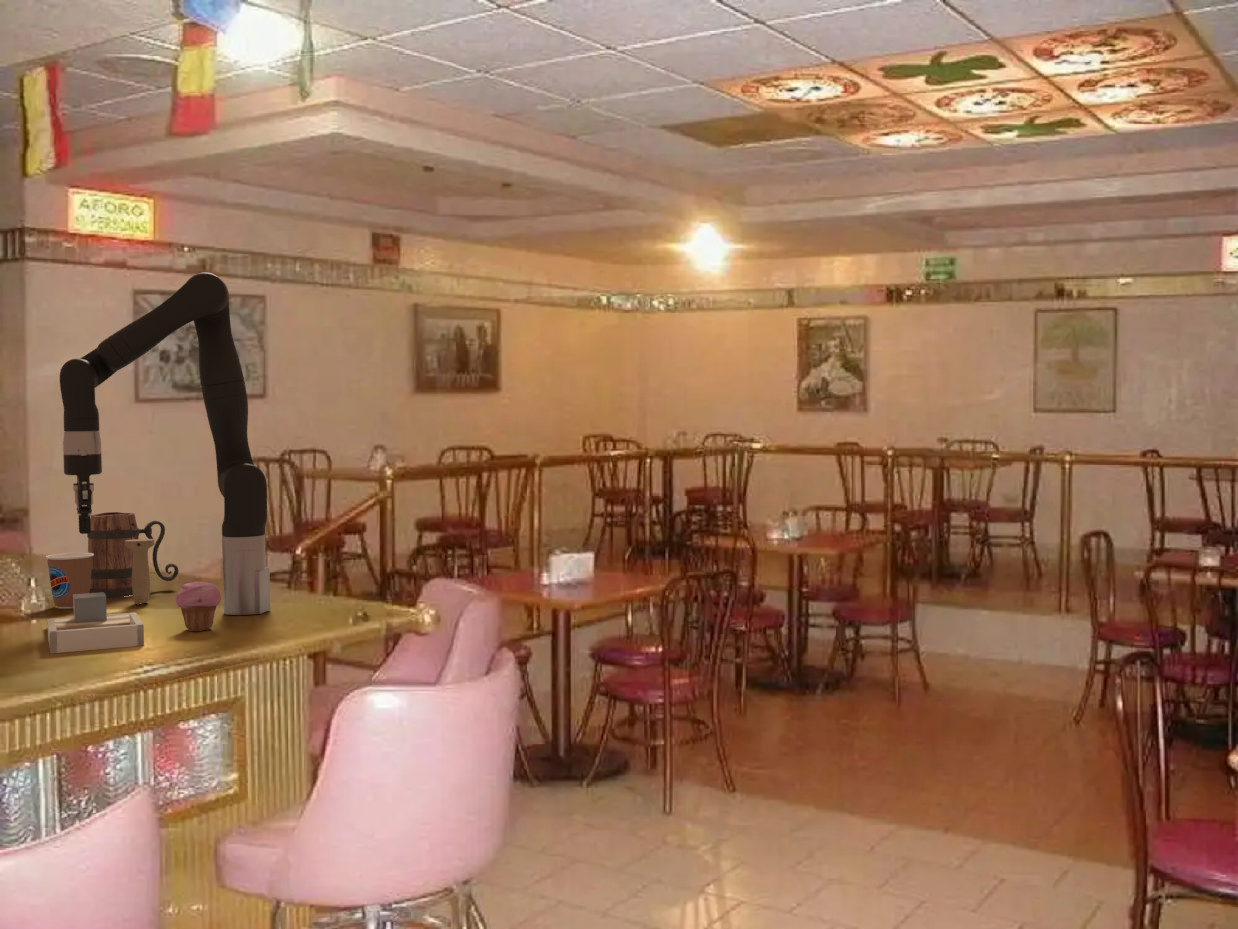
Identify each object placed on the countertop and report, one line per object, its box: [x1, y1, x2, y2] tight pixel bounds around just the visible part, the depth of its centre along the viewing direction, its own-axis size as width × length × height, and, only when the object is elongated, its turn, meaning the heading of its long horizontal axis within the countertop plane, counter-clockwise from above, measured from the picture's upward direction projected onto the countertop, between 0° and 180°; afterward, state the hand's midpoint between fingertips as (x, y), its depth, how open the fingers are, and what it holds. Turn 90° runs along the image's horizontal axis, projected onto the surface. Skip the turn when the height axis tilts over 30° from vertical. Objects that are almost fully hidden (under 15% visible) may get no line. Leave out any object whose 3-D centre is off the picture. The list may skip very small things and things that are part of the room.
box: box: [47, 612, 145, 654], centre depth 248 cm, size 17×16×4 cm
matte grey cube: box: [72, 592, 108, 623], centre depth 263 cm, size 7×6×5 cm
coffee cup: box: [45, 552, 94, 610], centre depth 295 cm, size 10×10×12 cm
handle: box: [125, 538, 155, 605], centre depth 297 cm, size 5×6×15 cm
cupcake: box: [175, 580, 221, 633], centre depth 261 cm, size 9×9×10 cm
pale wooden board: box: [46, 612, 130, 631], centre depth 262 cm, size 14×16×2 cm
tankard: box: [86, 511, 179, 600], centre depth 316 cm, size 24×17×20 cm
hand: (84, 532), depth 273 cm, fingers closed
